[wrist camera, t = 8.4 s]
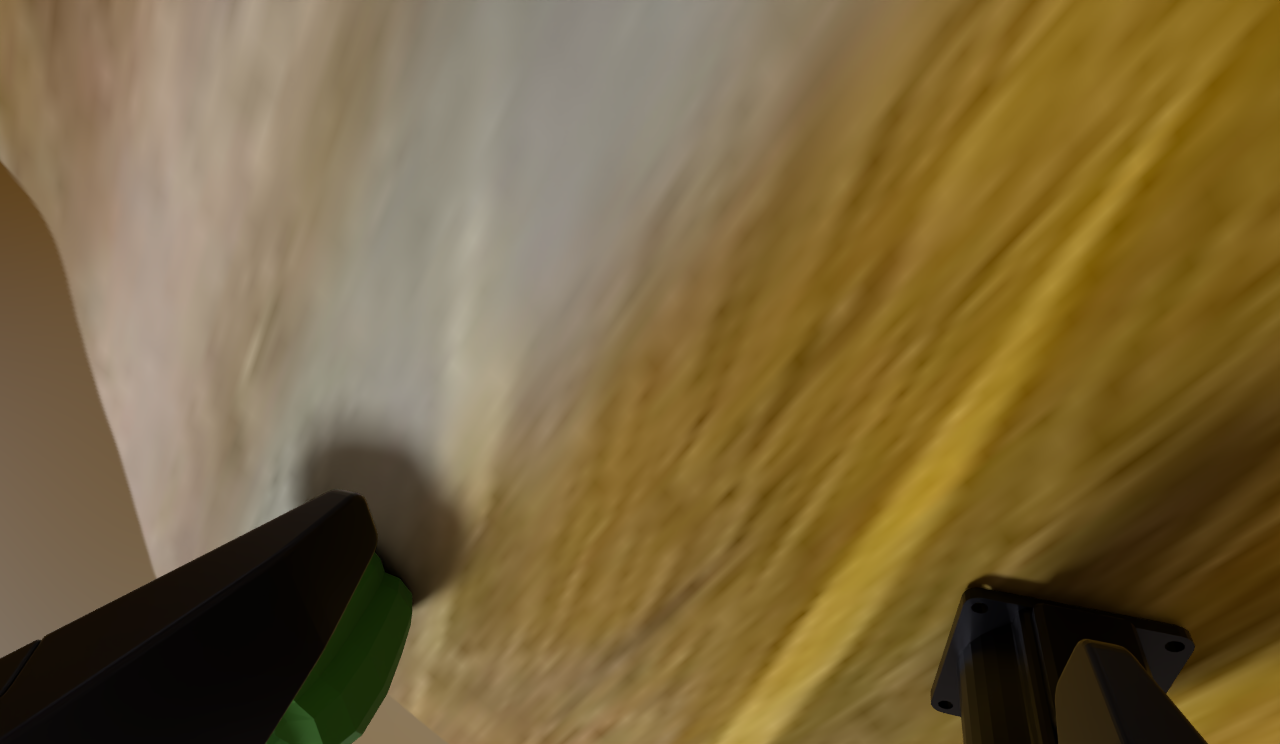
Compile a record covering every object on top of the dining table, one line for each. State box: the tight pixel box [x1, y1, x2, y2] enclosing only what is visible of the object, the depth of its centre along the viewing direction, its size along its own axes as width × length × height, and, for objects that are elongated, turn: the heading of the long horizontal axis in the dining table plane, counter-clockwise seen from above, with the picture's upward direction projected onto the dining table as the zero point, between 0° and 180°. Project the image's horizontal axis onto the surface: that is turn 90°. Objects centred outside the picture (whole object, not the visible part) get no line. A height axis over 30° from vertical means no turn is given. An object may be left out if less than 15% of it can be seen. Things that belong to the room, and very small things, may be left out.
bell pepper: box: [266, 552, 412, 744], centre depth 30 cm, size 8×8×10 cm
